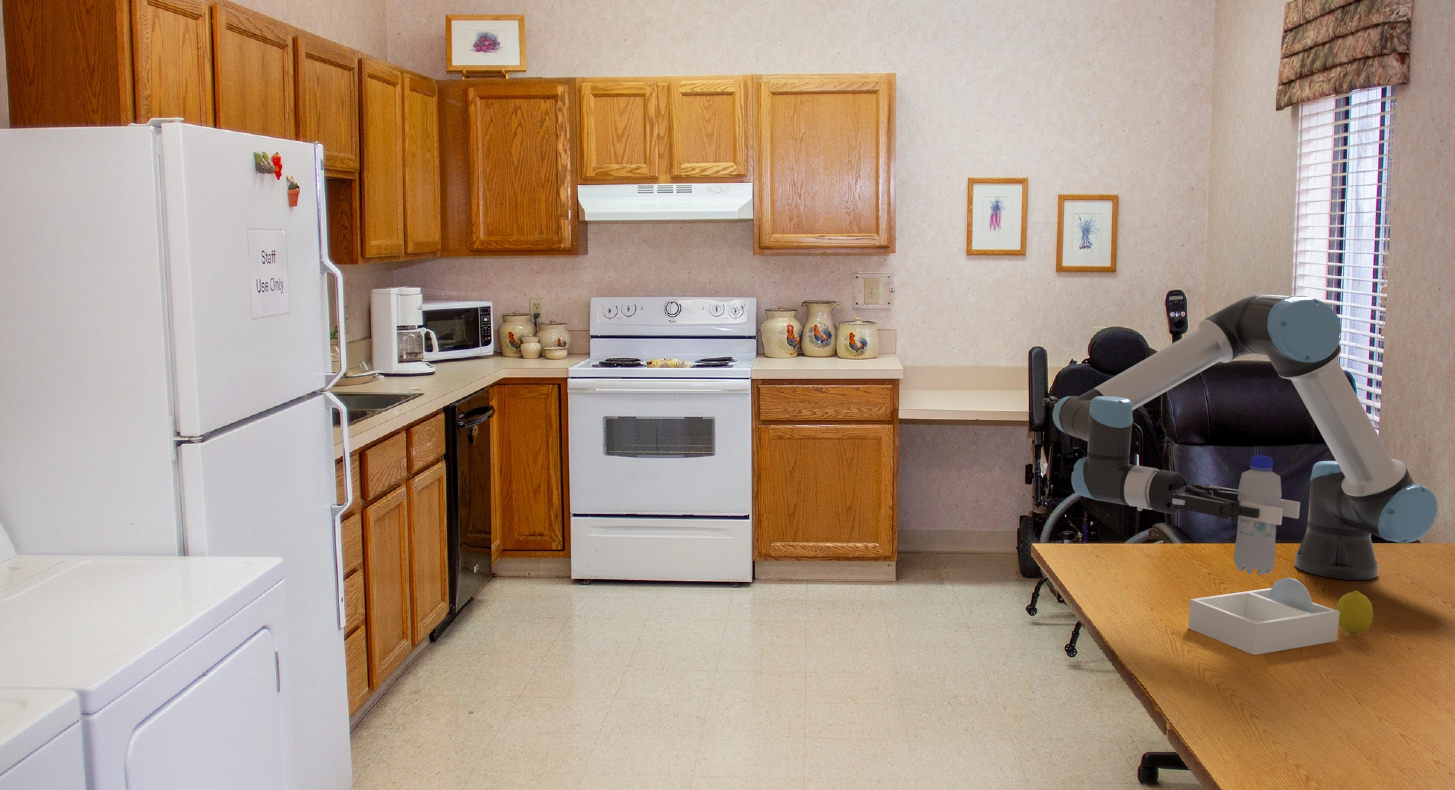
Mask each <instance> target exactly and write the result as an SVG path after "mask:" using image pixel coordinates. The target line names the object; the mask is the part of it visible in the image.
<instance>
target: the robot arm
mask: <svg viewBox="0 0 1455 790" xmlns="http://www.w3.org/2000/svg"><path fill="white" fill-rule="evenodd" d="M1340 334H1342V324H1341V321H1340V318H1339V316H1338V315H1337V313H1336V311H1335V310H1334V308H1332V307H1331V306H1330V305H1329V304H1327V303H1326V302H1324V301H1322V300H1319V299H1317V298H1313V297H1309V296H1306V295H1281V294H1280V295H1278V294H1269V293H1268V294H1263V293H1260V294H1255V295H1250V296H1248V297H1245V298H1243V299H1240V300H1238V301H1236V302H1234V303H1232V304H1230V305H1228V306H1226V307H1224V308H1222V309H1220V310H1219V311H1217V312H1215V313H1213V314H1212V315H1210V316H1208V317H1206V318H1205V319H1203V320H1201V321H1199V323H1198V327H1197V329H1196V330H1194V331H1192V332H1190V333H1188V334H1187V335H1184V337H1182V338H1180V339H1178V340H1176V341H1175V342H1173V343H1171V344H1169V345H1167V346H1166V347H1164V348H1162V349H1160V350H1159V351H1157V352H1155V353H1153V354H1152V355H1150V356H1148V357H1146V358H1145V359H1143V360H1141V361H1139V362H1138V363H1136V364H1134V365H1133V366H1130V367H1129V368H1127V369H1125V370H1124V371H1122V372H1120V373H1118V374H1116V375H1115V376H1113V377H1111V378H1110V379H1108V380H1106V381H1104V382H1102V383H1101V384H1099V385H1098V386H1095V387H1094V388H1092V389H1089V390H1088V391H1087V392H1084V393H1082V394H1080V395H1079V396H1078V395H1075V396H1074V395H1071V396H1065V397H1063V398H1061V399H1059V400H1058V401H1057V403H1056V404H1055V406H1054V408H1053V410H1052V421H1053V424H1054V425H1055V427H1056V428H1057V429H1058V430H1059V431H1061V432H1063V433H1065V434H1066V435H1068V436H1070V437H1073V438H1078V439H1080V440H1083V441H1086V442H1087V454H1086V456H1085V457H1081V458H1079V459H1078V460H1077V461H1076V462H1075V464H1074V466H1073V471H1072V472H1071V477H1070V478H1071V486H1072V488H1073V490H1074V492H1075V493H1076V494H1077V495H1079V496H1080V497H1081V496H1082V497H1084V498H1088V499H1092V500H1096V501H1099V502H1106V503H1112V504H1119V505H1125V506H1129V507H1137V509H1136V510H1137V511H1138V512H1142V511H1143V509H1145V510H1150V511H1151V510H1153V511H1155V512H1159V513H1164V514H1168V515H1169V514H1170V515H1173V514H1177V513H1178V512H1179V511H1180V510H1185V511H1188V512H1194V513H1198V514H1204V515H1210V516H1213V517H1218V518H1223V519H1226V520H1227V519H1230V521H1231V522H1233V523H1238V515H1240V516H1239V518H1243V519H1249V520H1254V521H1260V522H1265V523H1270V524H1276V526H1281V525H1282V521H1283V517H1286V518H1291V519H1297V520H1298V519H1299V518H1300V509H1301V502H1300V501H1296V500H1290V499H1283V498H1281V499H1280V502H1281V503H1280V504H1279V506H1278V507H1272V506H1267V505H1261V504H1255V503H1249V502H1244V501H1242V502H1241V504H1240V505H1239V500H1238V489H1236V488H1228V487H1222V486H1216V485H1212V484H1209V483H1207V484H1204V485H1203V484H1201V483H1191V485H1188V484H1187V483H1186V479H1185V477H1184V475H1183V474H1182V473H1180V472H1178V471H1173V470H1166V469H1158V468H1156V467H1149V466H1143V465H1135V464H1130V459H1131V458H1130V457H1131V456H1130V455H1131V446H1132V445H1131V443H1132V431H1133V423H1134V417H1133V411H1134V410H1136V409H1137V408H1139V407H1141V406H1142V405H1145V404H1147V403H1148V402H1150V401H1152V400H1153V399H1155V398H1157V397H1159V396H1160V395H1162V394H1163V393H1164V394H1165V393H1166V392H1167V391H1169V390H1171V389H1173V388H1174V387H1176V386H1178V385H1180V384H1182V383H1184V382H1185V381H1187V380H1189V379H1190V378H1192V377H1195V376H1196V375H1197V374H1200V373H1201V372H1203V371H1205V370H1207V369H1208V368H1210V367H1212V366H1214V365H1215V364H1217V363H1223V364H1224V363H1225V364H1227V363H1229V362H1230V363H1231V361H1233V360H1235V359H1237V358H1239V357H1242V356H1246V355H1252V354H1253V355H1255V354H1256V355H1257V354H1258V355H1263V356H1267V358H1268V359H1269V361H1270V363H1271V364H1272V367H1273V368H1274V370H1275V372H1276V373H1277V375H1278V376H1279V377H1280V378H1281V379H1287V380H1290V381H1291V382H1292V385H1293V386H1294V387H1295V390H1296V391H1297V393H1298V395H1299V397H1300V398H1301V400H1302V402H1303V404H1304V406H1305V408H1306V409H1307V410H1308V413H1309V415H1310V416H1311V418H1312V421H1314V424H1315V425H1316V427H1317V429H1318V431H1319V432H1320V435H1321V436H1322V438H1323V439H1324V442H1325V443H1326V446H1327V447H1328V448H1329V450H1330V452H1331V454H1332V456H1333V458H1334V460H1323V461H1317V462H1316V463H1314V464H1313V466H1312V471H1311V474H1310V475H1311V476H1310V479H1309V481H1310V484H1309V485H1310V486H1309V488H1310V489H1309V500H1308V501H1309V502H1308V515H1307V527H1306V531H1305V534H1304V536H1303V538H1302V540H1301V542H1300V544H1299V547H1298V549H1297V552H1296V553H1295V559H1294V566H1295V567H1296V568H1297V569H1298V570H1300V571H1302V572H1306V573H1308V574H1310V575H1311V574H1312V575H1315V576H1319V577H1323V578H1329V579H1336V580H1345V581H1346V580H1347V581H1365V580H1366V581H1367V580H1372V579H1375V578H1377V576H1378V572H1379V571H1378V570H1379V564H1378V562H1377V559H1376V554H1375V551H1374V546H1373V541H1372V538H1371V537H1372V535H1374V536H1376V537H1379V538H1382V539H1383V540H1385V541H1389V542H1395V543H1399V544H1400V543H1402V544H1408V543H1413V542H1416V541H1417V540H1418V541H1419V539H1421V538H1422V537H1424V536H1426V534H1427V533H1428V532H1429V531H1430V530H1431V529H1432V527H1433V525H1434V524H1435V519H1436V518H1437V515H1438V509H1439V507H1438V506H1439V503H1438V501H1437V498H1436V495H1435V494H1434V492H1432V491H1431V490H1430V489H1429V488H1428V487H1426V485H1423V484H1419V483H1416V482H1415V481H1414V480H1413V478H1412V476H1411V474H1410V472H1409V471H1408V469H1407V468H1408V467H1406V465H1405V464H1404V463H1403V461H1401V460H1398V459H1393V458H1391V456H1390V454H1389V452H1388V450H1387V449H1386V447H1385V445H1384V443H1383V441H1382V439H1381V437H1380V436H1379V434H1378V432H1377V430H1376V428H1375V427H1374V424H1373V423H1372V421H1371V419H1370V418H1369V416H1368V414H1367V412H1366V410H1365V408H1364V406H1363V404H1362V403H1361V400H1360V399H1359V397H1358V396H1357V393H1356V392H1355V391H1354V390H1355V389H1353V386H1352V385H1351V383H1350V381H1349V379H1348V377H1347V375H1346V373H1345V372H1344V370H1343V368H1342V366H1341V364H1340V362H1339V361H1338V359H1339V357H1340V355H1341V352H1342V348H1341V346H1340V341H1341V337H1340Z"/></svg>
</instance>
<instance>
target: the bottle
mask: <svg viewBox="0 0 1455 790" xmlns="http://www.w3.org/2000/svg"><path fill="white" fill-rule="evenodd" d="M1249 466H1250V469H1249V470H1247V471H1243V472H1241V477H1240V479H1239V484H1238V489H1237V490H1238V500H1239V505H1240V504H1241V502H1242V501H1244V502H1249V503H1255V504H1261V505H1267V506H1272V507H1278V506H1279V504H1280V503H1281V502H1280V499H1282V496H1283V495H1282V482H1281V476H1280V475H1279V474H1277V473H1275V472H1274V471H1273V467H1274V461H1273V458H1272V457H1271V456H1268V455H1264V454H1263V455H1262V454H1261V455H1253V456H1252V457H1251V459H1250V465H1249ZM1239 516H1240V515H1238V521H1237V531H1236V539H1235V545H1234V551H1233V552H1234V553H1233V562H1234V565H1235V566H1236V569H1237V570H1238V571H1240V572H1244V571H1245V570H1246V571H1245V572H1246V573H1247V574H1248V575H1252V574H1253V571H1254V569H1255V570H1257V575H1259V576H1263V575H1269V574H1271V572H1272V571H1273V570H1274V568H1275V561H1276V535H1277V525H1276V524H1270V523H1265V522H1260V521H1254V520H1249V519H1243V518H1239Z"/></svg>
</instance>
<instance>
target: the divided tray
mask: <svg viewBox="0 0 1455 790" xmlns="http://www.w3.org/2000/svg"><path fill="white" fill-rule="evenodd" d="M1339 612H1340V611H1337V610H1336V609H1333V608H1331V607H1328V606H1325V605H1322V604H1319V603H1316V602H1313V601H1312V597H1311V595H1310V591H1309V590H1308V589H1307V587H1306V586H1305V585H1304V584H1303V583H1302V582H1301V581H1299V580H1298V579H1296V578H1292V577H1285V578H1280V579H1278V580H1276V581H1275V582H1274V584H1273V585H1272V586H1271V587H1270V588H1269V587H1267V588H1262V589H1255V590H1248V591H1241V592H1240V591H1239V592H1231V593H1227V594H1226V593H1225V594H1218V595H1217V594H1216V595H1212V596H1204V597H1197V598H1191V599H1190V601H1189V613H1188V614H1189V615H1188V629H1190V630H1191V631H1194V632H1197V633H1199V634H1202V635H1204V636H1206V637H1209V638H1211V639H1214V640H1216V641H1219V642H1221V643H1224V644H1225V645H1228V646H1230V647H1233V648H1236V649H1238V650H1240V651H1243V652H1245V653H1247V654H1250V655H1253V656H1257V655H1263V654H1268V653H1275V652H1279V651H1284V650H1285V651H1286V650H1292V649H1296V648H1297V649H1299V648H1303V647H1310V646H1315V645H1321V644H1328V643H1333V642H1337V641H1338V631H1339Z"/></svg>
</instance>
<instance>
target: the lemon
mask: <svg viewBox="0 0 1455 790" xmlns="http://www.w3.org/2000/svg"><path fill="white" fill-rule="evenodd" d="M1335 610H1337V611H1340V612H1339V623H1338V626H1340V627H1341V629H1343V630H1344V631H1346V632H1347V633H1348V634H1349V635H1350V636H1352V637H1355V636H1356V635H1358V634H1359V633H1364V632H1365V631H1367V630H1368V629H1369V628H1370V627H1371V625H1372V622H1373V619H1374V609H1373V605H1372V602H1371V601H1370V599H1369V598H1368V597H1367V596H1366V595H1365V594H1362V593H1361V592H1360V591H1359V590H1353V591H1352V592H1348V593H1345V594H1343V595H1342V596H1341V597H1340V599H1339V600H1338V602H1337V605H1336V609H1335Z"/></svg>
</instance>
